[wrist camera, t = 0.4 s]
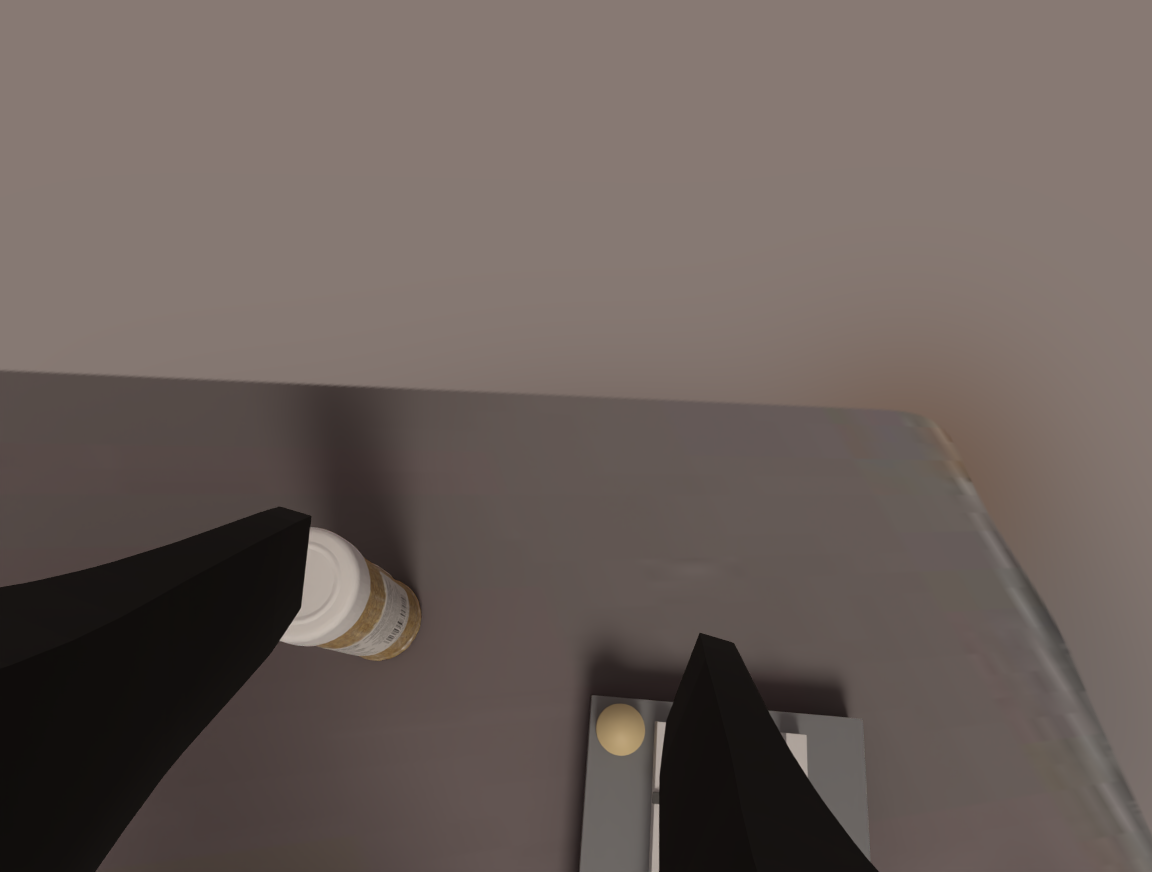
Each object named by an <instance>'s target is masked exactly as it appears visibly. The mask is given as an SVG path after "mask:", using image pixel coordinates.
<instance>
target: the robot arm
mask: <svg viewBox="0 0 1152 872" xmlns="http://www.w3.org/2000/svg"><path fill="white" fill-rule="evenodd" d="M310 524H311V516H310V515H306V514H303V513H300V512H296V511H293V510H290V509H286V508H283V507H277V508H273V509H270V510H266V511H263V512H260V513H257V514H254V515H251V516H249V517H246V518H243V519H240V520H237V521H235V522H232V523H229V524H226V525H224V526H221V527H218V528H215V529H212V530H210V531H207V532H204V533H201V534H198V535H195V536H192V537H190V538H187V539H184V540H181V541H178V542H175V543H172V544H169V545H166V546H163V547H160V548H156V549H153V550H150V551H147V552H144V553H140V554H137V555H134V556H131V557H127V558H124V559H121V560H118V561H115V562H111V563H108V564H104V565H100V566H97V567H93V568H89V569H85V570H81V571H77V572H73V573H69V574H64V575H60V576H56V577H51V578H47V579H43V580H38V581H33V582H28V583H23V584H17V585H11V586H6V587H0V872H95V871H96V870H97V868H98V867H99V865H100V864H101V862H102V861H103V860H104V858H105V857H106V855H107V854H108V852H109V851H110V850H111V848H112V847H113V845H114V844H115V842H116V841H117V840H118V838H119V837H120V835H121V834H122V832H123V831H124V830H125V828H126V827H127V825H128V824H129V823H130V821H131V820H132V819H133V817H134V816H135V814H136V813H137V812H138V810H139V809H140V808H141V806H142V805H143V804H144V802H145V801H146V799H147V798H148V797H149V795H150V794H151V793H152V791H153V790H154V788H155V787H156V786H157V784H158V783H159V782H160V780H161V779H162V778H163V776H164V775H165V774H166V773H167V771H168V770H169V769H170V768H171V766H172V765H173V764H174V763H175V762H176V760H177V759H178V758H179V757H180V755H181V754H182V753H183V752H184V751H185V750H186V749H187V747H188V746H189V745H190V744H191V743H192V742H193V741H194V740H195V738H196V737H197V736H198V735H199V734H200V733H201V732H202V731H203V729H204V728H205V727H206V726H207V725H208V724H209V723H210V722H211V720H212V719H213V718H214V717H215V716H216V715H217V714H218V713H219V712H220V710H221V709H222V708H223V707H224V706H225V705H226V704H227V703H228V701H229V700H230V699H231V698H232V697H233V696H234V695H235V694H236V692H237V691H238V690H239V689H240V688H241V687H242V686H243V685H244V683H245V682H246V681H247V680H248V679H249V678H250V677H251V675H252V674H253V673H254V672H255V671H256V670H257V669H258V667H259V666H260V665H261V664H262V663H263V662H264V661H265V659H266V658H267V657H268V656H269V655H270V653H271V652H272V651H273V649H274V648H275V646H276V645H277V643H278V642H279V641H280V639H281V638H282V636H283V635H284V633H285V632H286V630H287V629H288V627H289V626H290V624H291V623H292V621H293V620H294V618H295V617H296V615H297V614H298V612H299V610H300V609H301V604H302V595H303V586H304V578H305V569H306V560H307V551H308V542H309V533H310ZM659 872H878V870H877V869H876V868H875V867H874V866H873V865H872V863H871V862H870V861H869V860H868V859H867V857H866V856H865V855H864V854H863V852H862V851H861V850H860V849H859V848H858V846H857V845H856V844H855V843H854V841H853V840H852V839H851V837H850V836H849V835H848V833H847V832H846V831H845V829H844V828H843V827H842V825H841V824H840V823H839V821H838V820H837V819H836V817H835V816H834V815H833V813H832V812H831V811H830V809H829V808H828V807H827V805H826V804H825V802H824V801H823V800H822V798H821V797H820V795H819V794H818V792H817V791H816V789H815V788H814V786H813V785H812V783H811V782H810V780H809V779H808V777H807V776H806V774H805V772H804V771H803V769H802V768H801V766H800V765H799V763H798V761H797V760H796V758H795V757H794V755H793V754H792V752H791V750H790V749H789V747H788V745H787V743H786V742H785V740H784V738H783V736H782V735H781V733H780V731H779V729H778V727H777V726H776V724H775V722H774V720H773V718H772V717H771V715H770V713H769V711H768V709H767V707H766V705H765V704H764V702H763V700H762V698H761V696H760V694H759V692H758V690H757V688H756V686H755V684H754V682H753V680H752V678H751V676H750V674H749V672H748V670H747V668H746V666H745V664H744V662H743V660H742V658H741V656H740V654H739V652H738V650H737V648H736V646H735V644H734V643H732V642H729V641H726V640H722V639H719V638H716V637H712V636H709V635H706V634H702V633H699V636H698V639H697V641H696V644H695V646H694V649H693V652H692V654H691V657H690V660H689V662H688V665H687V667H686V670H685V673H684V675H683V678H682V681H681V683H680V686H679V688H678V691H677V694H676V696H675V699H674V702H673V704H672V707H671V709H670V712H669V715H668V717H667V720H666V726H665V734H664V741H663V749H662V757H661V766H660V775H659Z"/></svg>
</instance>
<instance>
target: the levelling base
mask: <svg viewBox="0 0 1152 872" xmlns="http://www.w3.org/2000/svg"><path fill="white" fill-rule="evenodd" d="M672 704H673V702H665V701H654V700H643V699H631V698H620V697H609V696H597V695H591V703H590V717H589V731H588V745H587V759H586V773H585V787H584V801H583V815H582V829H581V844H580V858H579V872H659V775H660V766H661V757H662V749H663V741H664V734H665V726H666V720H667V717H668V715H669V712H670V709H671V707H672ZM769 713H770V715H771V717H772V718H773V720H774V722H775V724H776V726H777V727H778V729H779V731H780V733H781V735H782V736H783V738H784V740H785V742H786V743H787V745H788V747H789V749H790V750H791V752H792V754H793V755H794V757H795V758H796V760H797V761H798V763H799V765H800V766H801V768H802V769H803V771H804V772H805V774H806V776H807V777H808V779H809V780H810V782H811V783H812V785H813V786H814V788H815V789H816V791H817V792H818V794H819V795H820V797H821V798H822V800H823V801H824V802H825V804H826V805H827V807H828V808H829V809H830V811H831V812H832V813H833V815H834V816H835V817H836V819H837V820H838V821H839V823H840V824H841V825H842V827H843V828H844V829H845V831H846V832H847V833H848V835H849V836H850V837H851V839H852V840H853V841H854V843H855V844H856V845H857V846H858V848H859V849H860V850H861V851H862V852H863V854H864V855H865V856H866V857H867V859H868V860H869V861H870V862H871V860H870V841H869V823H868V805H867V786H866V768H865V750H864V731H863V719H858V718H847V717H835V716H824V715H813V714H801V713H790V712H779V711H769Z"/></svg>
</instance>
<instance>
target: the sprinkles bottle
mask: <svg viewBox="0 0 1152 872" xmlns="http://www.w3.org/2000/svg"><path fill="white" fill-rule="evenodd" d="M420 623H421V609H420V605H419V601H418V599H417V597H416V595H415V594H414V592H413V591H412V590H411V589H410V588H409V587H408V586H407V585H405V584H403V583H402V582H400V581H398V580H395V579H393V577H392V576H391V575H390V574H389V573H388V572H386V571H385V570H383V569H382V568H381V567H379V566H378V565H376V564H373V563H371V562H370V561H368V560H367V559H365V558H364V557H363V556H362V554H361V553H360V552H359V551H358V549H357V548H356V547H355V546H353V545H352V544H351V543H350V542H348V541H347V540H345V539H344V538H342V537H341V536H339V535H337V534H335V533H333V532H331V531H329V530H326V529H322V528H316V527H310V533H309V542H308V551H307V560H306V569H305V578H304V586H303V595H302V604H301V609H300V610H299V612H298V614H297V615H296V617H295V618H294V620H293V621H292V623H291V624H290V626H289V627H288V629H287V630H286V632H285V633H284V635H283V636H282V638H281V639H280V641H282V642H285V643H288V644H293V645H298V646H318V647H321V648H325V649H330V650H334V651H339V652H343V653H347V654H351V655H356V656H360V657H362V658H365V659H368V660H375V661H381V660H385V659H390V658H393V657H395V656H397V655H399V654H400V653H402V652H403V651H405V650H406V649H407V648H408V647H409V646H410V645H411V643H412V641H413V640H414V639H415V637H416V635H417V632H418V631H419V628H420Z"/></svg>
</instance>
